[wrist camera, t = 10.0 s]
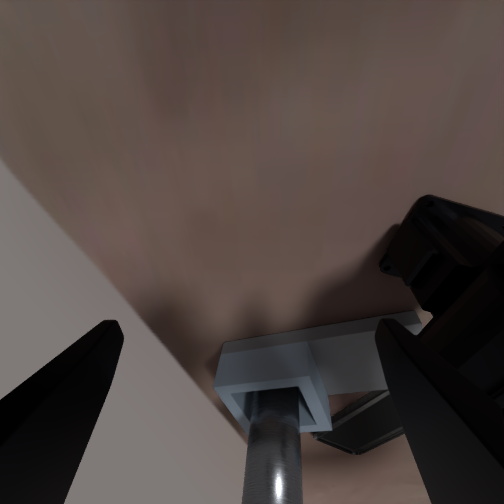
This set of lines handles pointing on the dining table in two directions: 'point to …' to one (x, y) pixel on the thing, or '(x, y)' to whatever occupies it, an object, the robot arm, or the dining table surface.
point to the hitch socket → (305, 367)
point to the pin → (274, 449)
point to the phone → (363, 424)
